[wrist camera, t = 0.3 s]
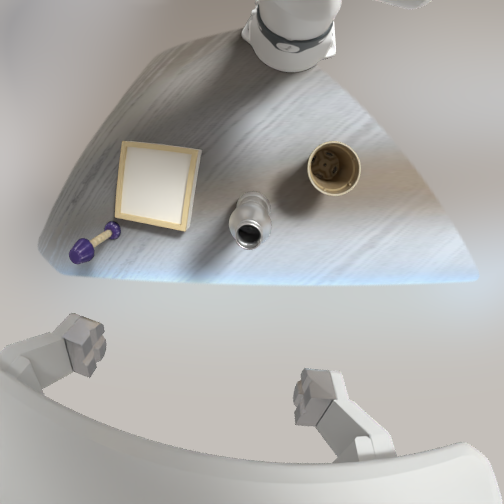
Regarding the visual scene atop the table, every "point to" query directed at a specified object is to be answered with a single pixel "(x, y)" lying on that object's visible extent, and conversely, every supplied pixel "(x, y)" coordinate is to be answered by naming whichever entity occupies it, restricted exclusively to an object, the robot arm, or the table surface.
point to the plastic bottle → (251, 220)
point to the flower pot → (341, 159)
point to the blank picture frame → (157, 184)
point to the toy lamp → (92, 244)
